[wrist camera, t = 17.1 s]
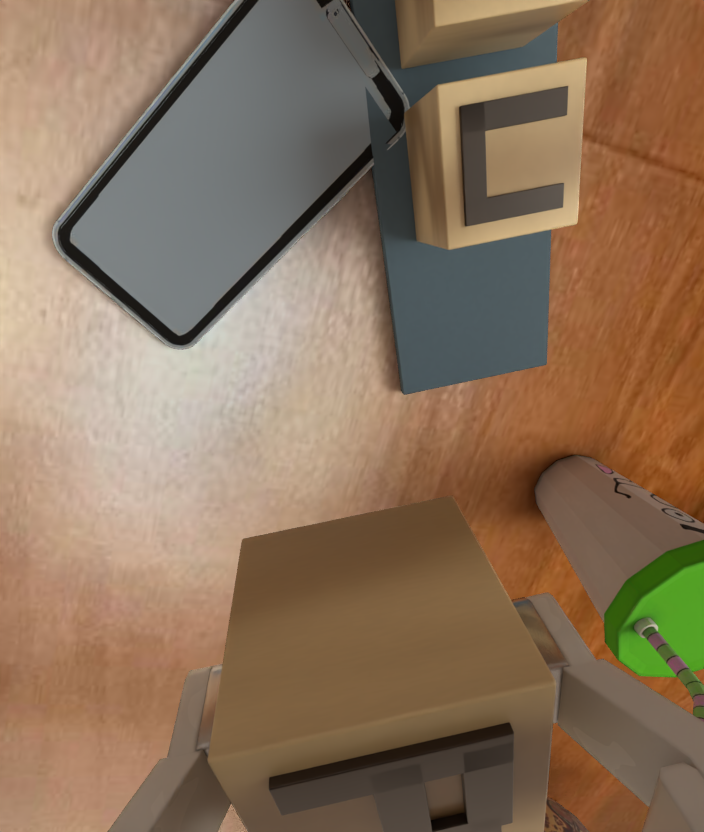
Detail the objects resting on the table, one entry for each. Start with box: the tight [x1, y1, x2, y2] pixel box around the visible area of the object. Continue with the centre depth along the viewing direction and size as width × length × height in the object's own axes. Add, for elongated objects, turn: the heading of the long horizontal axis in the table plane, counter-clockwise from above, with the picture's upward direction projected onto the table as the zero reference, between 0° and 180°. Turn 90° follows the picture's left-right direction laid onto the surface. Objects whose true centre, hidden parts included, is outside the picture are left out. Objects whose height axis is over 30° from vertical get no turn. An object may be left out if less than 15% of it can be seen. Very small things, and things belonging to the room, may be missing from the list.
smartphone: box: [52, 0, 410, 350], centre depth 18 cm, size 7×1×15 cm
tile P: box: [208, 496, 556, 832], centre depth 9 cm, size 5×5×5 cm
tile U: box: [404, 57, 587, 250], centre depth 17 cm, size 5×5×5 cm
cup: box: [534, 455, 704, 722], centre depth 21 cm, size 8×8×15 cm
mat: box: [350, 0, 558, 395], centre depth 19 cm, size 20×8×1 cm, turn 10°
